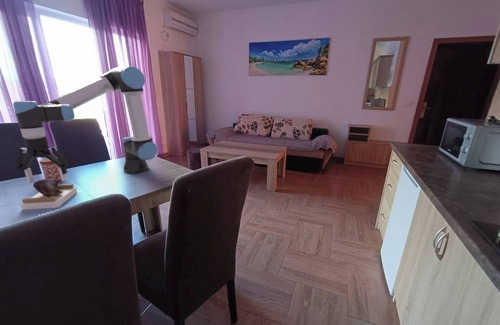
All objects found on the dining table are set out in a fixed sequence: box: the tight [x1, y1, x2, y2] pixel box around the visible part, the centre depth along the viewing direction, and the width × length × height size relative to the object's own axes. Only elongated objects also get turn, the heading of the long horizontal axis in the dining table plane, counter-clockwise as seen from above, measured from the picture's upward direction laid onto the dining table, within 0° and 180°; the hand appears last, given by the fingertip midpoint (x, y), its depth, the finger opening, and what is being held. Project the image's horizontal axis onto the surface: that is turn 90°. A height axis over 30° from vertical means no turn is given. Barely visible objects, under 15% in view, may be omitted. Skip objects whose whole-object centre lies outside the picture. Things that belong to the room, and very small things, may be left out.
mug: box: [38, 156, 63, 183], centre depth 131 cm, size 13×9×14 cm
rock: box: [32, 178, 63, 196], centre depth 106 cm, size 12×9×10 cm
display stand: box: [20, 183, 78, 211], centre depth 107 cm, size 14×16×5 cm
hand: (48, 181), depth 105 cm, fingers open, 13 cm apart
